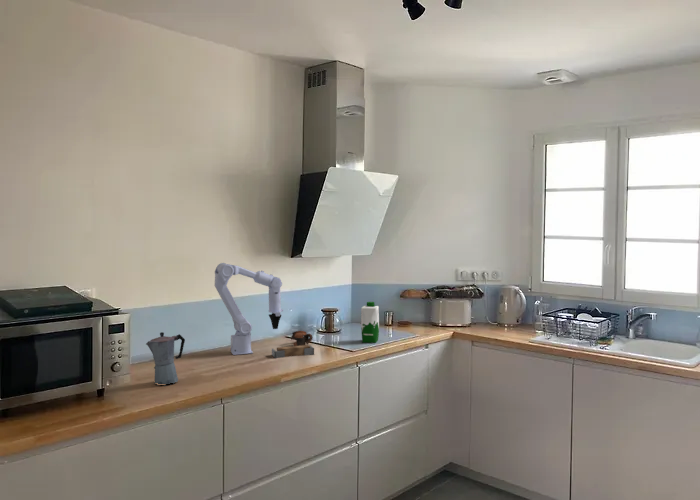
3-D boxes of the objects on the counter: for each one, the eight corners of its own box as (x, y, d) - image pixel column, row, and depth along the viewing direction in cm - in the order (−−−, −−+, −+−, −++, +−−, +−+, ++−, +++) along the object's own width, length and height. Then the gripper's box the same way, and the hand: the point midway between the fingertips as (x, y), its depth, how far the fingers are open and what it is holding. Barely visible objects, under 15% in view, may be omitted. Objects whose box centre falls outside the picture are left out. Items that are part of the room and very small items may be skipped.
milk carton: (380, 339, 298) (379, 301, 297) (376, 343, 289) (376, 304, 288) (363, 339, 300) (363, 301, 299) (360, 342, 291) (359, 303, 290)
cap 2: (304, 355, 266) (304, 348, 266) (301, 352, 272) (300, 346, 272) (314, 354, 268) (313, 348, 267) (310, 351, 274) (310, 345, 274)
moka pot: (142, 384, 222) (140, 333, 221) (179, 376, 232) (177, 327, 231) (153, 389, 215) (152, 336, 214) (190, 380, 226) (189, 330, 225)
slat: (278, 357, 263) (278, 349, 263) (276, 356, 267) (276, 347, 266) (310, 355, 268) (310, 346, 267) (308, 353, 271) (307, 344, 271)
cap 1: (274, 358, 261) (274, 351, 261) (271, 354, 268) (271, 348, 268) (284, 357, 263) (284, 350, 263) (281, 354, 269) (281, 347, 269)
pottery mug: (287, 348, 285) (287, 332, 288) (296, 352, 292) (296, 337, 296) (309, 343, 281) (308, 327, 285) (318, 347, 289) (317, 332, 292)
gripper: (286, 302, 274) (286, 330, 274) (279, 298, 287) (280, 325, 288) (271, 303, 271) (272, 331, 272) (265, 299, 285) (266, 326, 286)
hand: (275, 328), depth 280 cm, fingers closed
